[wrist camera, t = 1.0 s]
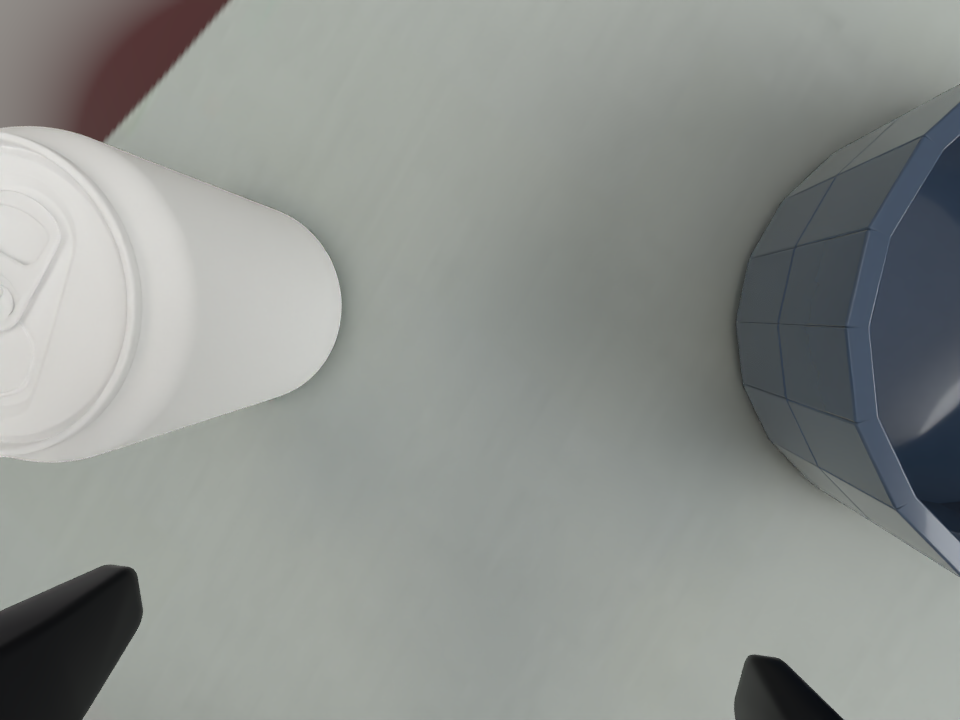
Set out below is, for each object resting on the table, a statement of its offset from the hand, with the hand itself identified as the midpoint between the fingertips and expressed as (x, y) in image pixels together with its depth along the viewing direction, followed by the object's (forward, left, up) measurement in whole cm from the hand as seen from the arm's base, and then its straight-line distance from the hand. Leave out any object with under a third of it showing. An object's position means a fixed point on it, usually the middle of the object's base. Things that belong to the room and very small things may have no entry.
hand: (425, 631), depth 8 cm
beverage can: (+6, +10, -16) cm, 19 cm away
